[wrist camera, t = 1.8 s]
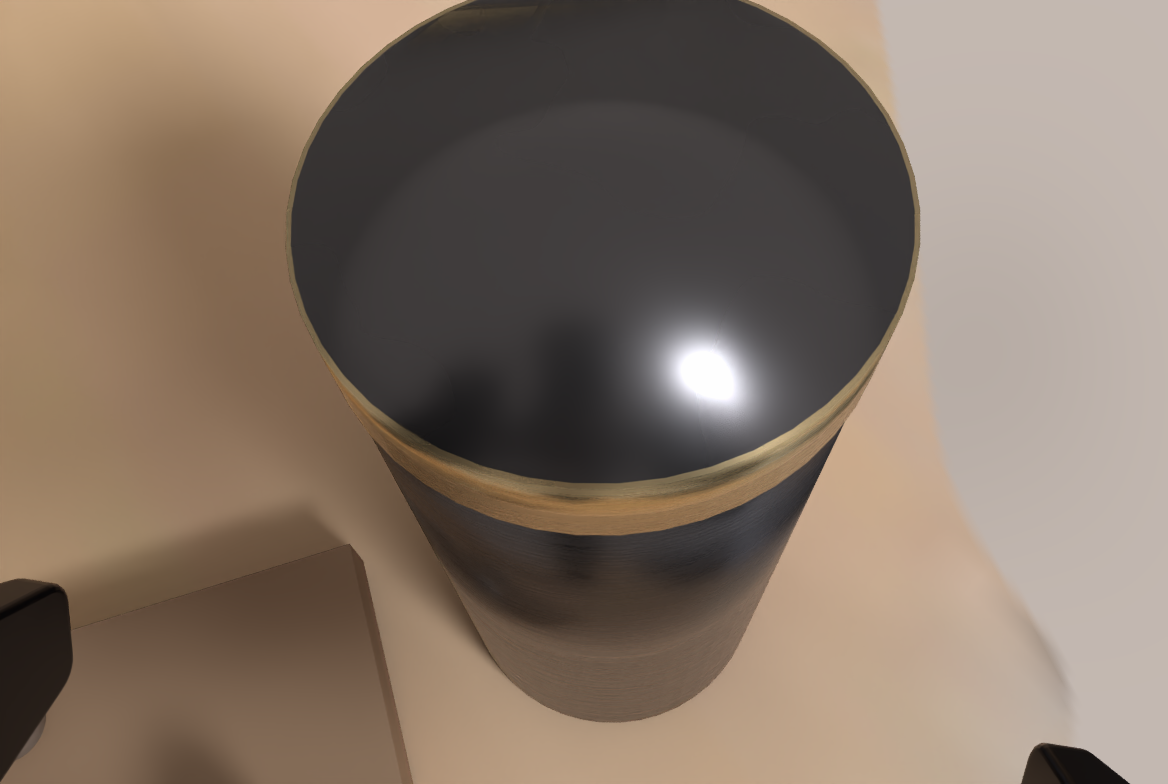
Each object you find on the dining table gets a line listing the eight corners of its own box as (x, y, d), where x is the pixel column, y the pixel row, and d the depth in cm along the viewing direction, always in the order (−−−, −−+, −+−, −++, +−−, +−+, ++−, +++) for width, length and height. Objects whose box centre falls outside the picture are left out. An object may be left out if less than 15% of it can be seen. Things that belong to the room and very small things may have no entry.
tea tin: (800, 669, 20) (1041, 368, 9) (512, 767, 20) (356, 584, 8) (695, 412, 23) (771, -81, 11) (438, 491, 22) (240, 53, 11)
